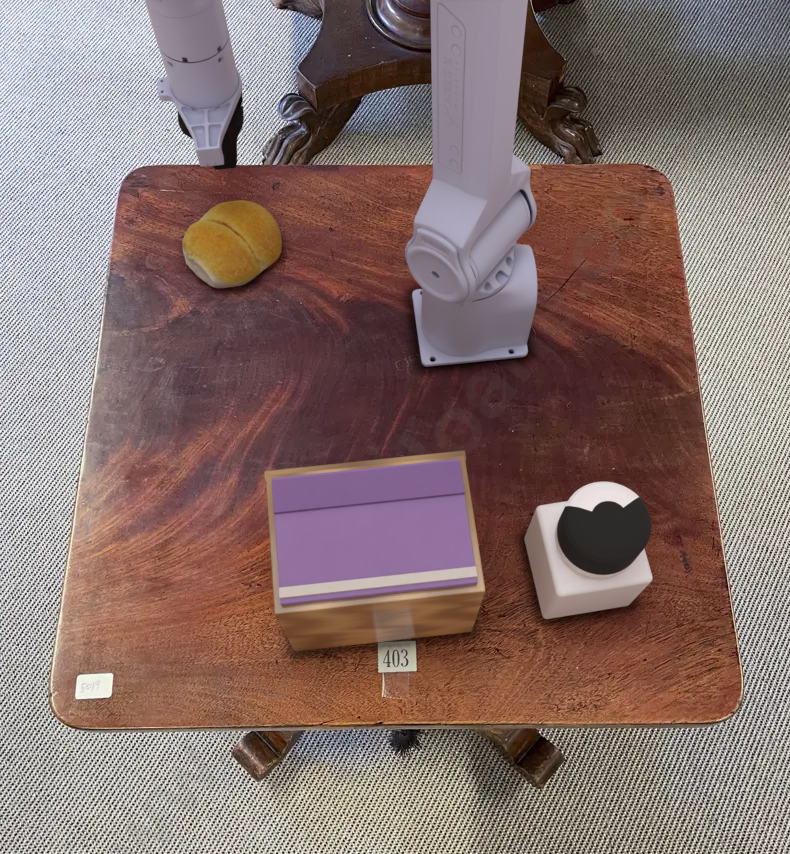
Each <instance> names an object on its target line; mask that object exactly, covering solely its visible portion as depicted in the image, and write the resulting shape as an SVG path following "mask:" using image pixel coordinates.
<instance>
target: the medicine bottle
mask: <svg viewBox="0 0 790 854" xmlns="http://www.w3.org/2000/svg"><path fill="white" fill-rule="evenodd" d="M652 530H653V529H652V517H651V514H650V510H648V507H647V505H646V504H645V502H644V500H642V498H641V497H640V496H639V495H638V494H637V493H636V492H635V491H633V490H632V489H631V488H628V487H626V485H623V484H619V483H617V482H613V481H594V482H591V483H588V484H586V485H583V486H581V487H580V488H578V489H577V490H576V491H574V492H573V494H571V496H570V497H569V498H568V500H566V501H565V500H564V501H560V502H559V501H557V502H553V503H552V502H551V503H547V504H540V505H538V506H536V508H535V510H534V513H533V515H532V518H531V521H530V522H529V525H528V527H527V530H526V533H525V535H524V544H525V548H526V553H527V558H528V562H529V565H530V569H531V574H532V578H533V583H534V587H535V591H536V596H537V599H538V605H539V608H540V613H541V616H542V619H544V620H552V619H556V618H557V619H558V618H563V617H569V616H575V615H581V614H586V613H593V612H598V611H605V610H611V609H612V610H613V609H618V608H623V607H628V606H630V605H631V604H632V603H633V602H634V600H635V599H636V598H637V597H638V596H639V595H640V594H641V593H642V592H643V591H644V590H645V589H646V588H647V587H648V586H649V585H650V584H651V583H652V581H653V578H654V577H653V573H652V569H651V567H650V563H649V560H648V556H647V553H646V549H645V548H646V547H647V545H648V543H649V542H650V538H651V535H652Z"/></svg>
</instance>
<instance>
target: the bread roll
mask: <svg viewBox="0 0 790 854" xmlns="http://www.w3.org/2000/svg"><path fill="white" fill-rule="evenodd" d="M282 245H283V240H282V234H281V230H280V227H279V225H278V223H277V221H276V219H275V217H273V215H272V214H271V213H270V212H269V211H268V210H267V209H266V208H265V207H264V206H262V205H260V204H258V203H256V202H254V201H249V200H245V199H240V200H239V199H238V200H230V201H229V200H228V201H225V202H220V203H218V204H215V206H212V207H211V208H210V209H209V210H208V211H206V213H205V214H203V216H202V217H201V218H200V219H199V220H198V221H196V222H194V223H192V224H190V225H189V227H187V230H186V231H185V233H184V235H183V238H182V242H181V247H182V253H183V258H184V261H185V264H186V266H188V268H189V269H190V270H191V272H193V273H194V274H195V275H196V277H198V278H199V279H200V280H202V281H203V282H204V283H206V284H207V285H208V286H210V287H212V288H214V289H227V288H234V287H241V286H245V285H246V284H248V283H249V282H250V281H252V280H254V279H255V278H256V277H257V276H259V275H260V274H261V273H262V272H263V271H264V270H266V269H268V268H269V267H270V266H272V264H274V263H275V262H276V261H277V260H278V259H279V258H280V257H281V253H282Z"/></svg>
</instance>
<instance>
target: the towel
mask: <svg viewBox="0 0 790 854" xmlns="http://www.w3.org/2000/svg"><path fill="white" fill-rule="evenodd" d="M272 493H273V509H274V515H275V531H276V546H277V561H278V577H279V598H280V604H281V606H287V605H296V604H305V603H314V602H323V601H333V600H342V599H351V598H360V597H369V596H378V595H387V594H397V593H406V592H415V591H424V590H433V589H442V588H451V587H460V586H470V585H477V583H478V579H477V570H476V566H475V560H474V553H473V547H472V540H471V534H470V527H469V521H468V514H467V508H466V501H465V490H464V484H463V477H462V471H461V464H460V461H459V459H452V460H443V461H433V462H423V463H414V464H404V465H395V466H385V467H375V468H366V469H356V470H347V471H337V472H327V473H318V474H308V475H299V476H289V477H279V478H272Z"/></svg>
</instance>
